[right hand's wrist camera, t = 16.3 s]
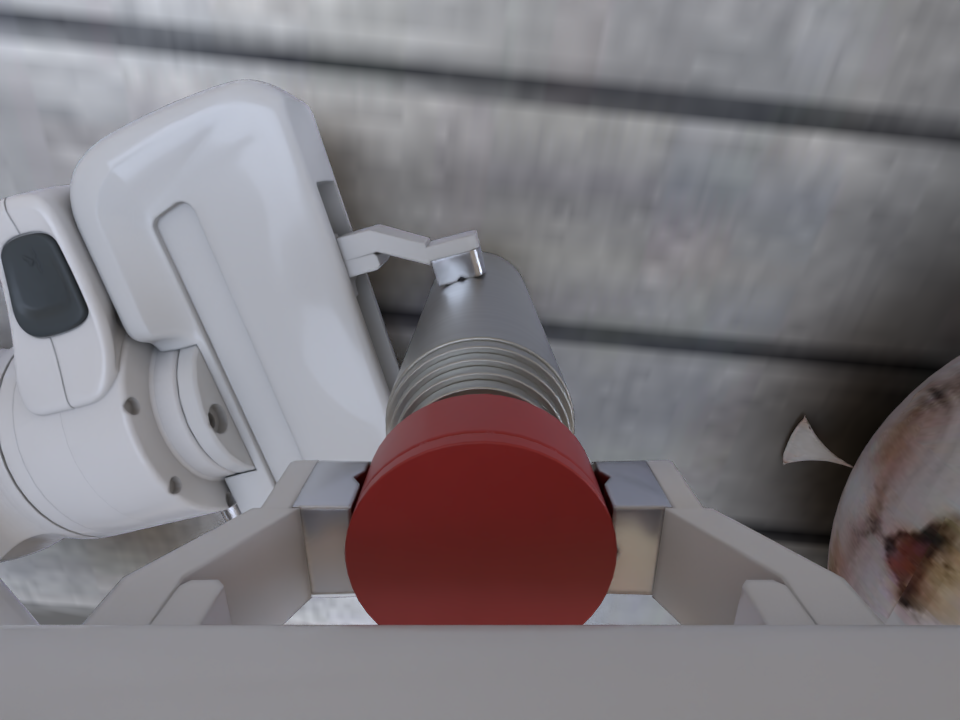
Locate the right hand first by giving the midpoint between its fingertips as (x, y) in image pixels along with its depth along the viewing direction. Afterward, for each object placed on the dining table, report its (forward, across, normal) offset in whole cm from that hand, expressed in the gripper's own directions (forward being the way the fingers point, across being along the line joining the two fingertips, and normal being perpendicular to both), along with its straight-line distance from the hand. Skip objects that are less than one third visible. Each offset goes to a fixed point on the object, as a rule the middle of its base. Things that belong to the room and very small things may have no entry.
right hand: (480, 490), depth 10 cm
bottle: (+16, 0, 0) cm, 16 cm away
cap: (-2, 0, 0) cm, 2 cm away
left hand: (+10, -1, 0) cm, 10 cm away
